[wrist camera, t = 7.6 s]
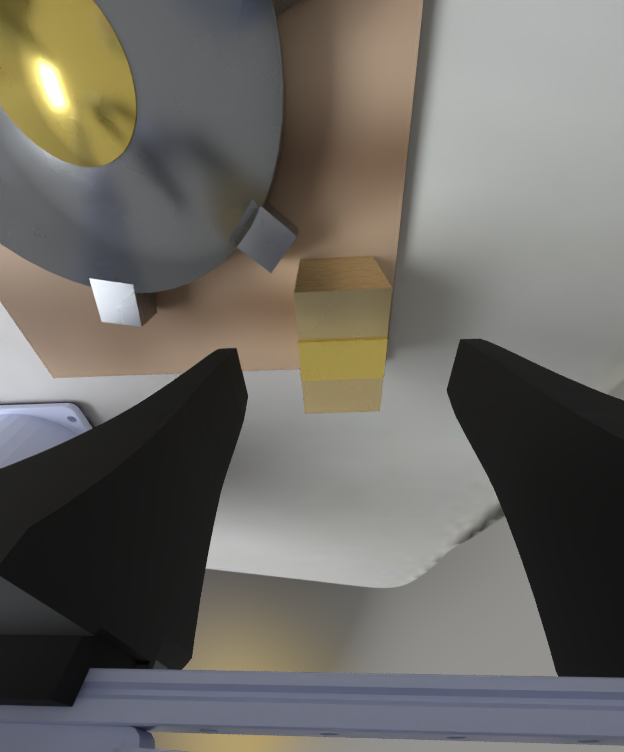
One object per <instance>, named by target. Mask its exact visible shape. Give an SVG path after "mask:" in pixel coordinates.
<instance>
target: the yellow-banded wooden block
mask: <svg viewBox="0 0 624 752" xmlns="http://www.w3.org/2000/svg"><path fill="white" fill-rule="evenodd" d="M391 295H392V287H391V285H390V284H389V282H388V280H387V279H386V277H385V275H384V274H383V272H382V270H381V269H380V267H379V265H378V264H377V262H376V261H375V259H374V257H373V256H355V257H337V258H318V259H300V263H299V268H298V273H297V278H296V284H295V289H294V301H295V312H296V323H297V333H298V347H299V358H300V368H301V379H302V387H303V397H304V408H305V413H334V412H367V411H380V403H381V393H382V383H383V378H384V370H385V360H386V351H387V341H388V339H387V334H388V324H389V315H390V305H391Z"/></svg>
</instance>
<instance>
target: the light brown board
mask: <svg viewBox="0 0 624 752" xmlns="http://www.w3.org/2000/svg"><path fill="white" fill-rule="evenodd" d="M422 10H423V0H302V1H300V2H299V3H297V4H295V5H294V6H292V7H291V8H289V9H288V10H286V11H284V12H283V13H281V14H280V15H278V16H277V18H278V24H279V30H280V36H281V42H282V48H283V54H284V67H285V80H286V125H285V134H284V142H283V150H282V156H281V160H280V164H279V169H278V173H277V177H276V181H275V184H274V186H273V189H272V192H271V195H270V197H269V200H268V203H270V204H271V205H272V206H273V207H274V208H275V209H277V210H278V211H279V212H280V213H281V214H282V215H284V216H285V217H286V218H287V219H288V220H289V221H291V222H292V223H293V224H294V225H295V226H296V227H298V228H299V232H298V235H297V237H296V239H295V240H294V242H293V243H292V244H291V246H290V247H289V249H288V250H287V252H286V253H285V254H284V256H283V257H282V259H281V260H280V262H279V263H278V264H277V266H276V267H275V269H274V270H273V272H272V273H270V272H269V271H268V270H266V269H265V268H264V267H262V266H261V265H260V264H258V263H257V262H256V261H254V260H253V259H252V258H250V257H249V256H248V255H246V254H245V253H244V252H243V251H241V250H240V249H239V248H236V249H235V250H234V251H233V252H232V253H231V254H230V255H229V256H228V257H227V258H226V259H225V260H224V261H223V262H222V263H221V264H219V265H218V266H217V267H216V268H214V269H213V270H212V271H210V272H209V273H208V274H206V275H204V276H202V277H200V278H198V279H197V280H195V281H193V282H191V283H188V284H185V285H182V286H180V287H177V288H174V289H169V290H164V291H159V292H154V294H155V300H156V306H157V312H158V313H157V314H155V315H154V316H153V317H152V318H151V319H150V320H149V321H148V322H147V323H146V324H145V325H143V326H142V327H137V326H130V325H122V324H115V323H107V322H102V321H101V317H100V314H99V311H98V307H97V304H96V300H95V297H94V293H93V290H92V287H89V286H86V285H83V284H80V283H77V282H73V281H70V280H68V279H65V278H63V277H61V276H58V275H56V274H53V273H51V272H49V271H46V270H44V269H43V268H41V267H39V266H37V265H35V264H33V263H31V262H29V261H27V260H25V259H24V258H22V257H20V256H19V255H17V254H16V253H14V252H12V251H11V250H9V249H8V248H6V247H5V246H3V245H1V244H0V302H1V303H2V304H3V306H4V307H5V309H6V310H7V312H8V313H9V315H10V316H11V317H12V319H13V320H14V322H15V323H16V325H17V326H18V328H19V329H20V330H21V332H22V333H23V335H24V336H25V338H26V339H27V341H28V342H29V343H30V345H31V346H32V348H33V349H34V351H35V352H36V354H37V355H38V356H39V358H40V359H41V361H42V362H43V364H44V365H45V367H46V368H47V369H48V371H49V372H50V374H51V375H52V377H53V378H65V377H92V376H119V375H146V374H174V373H185V372H186V371H187V370H189V369H190V368H191V367H193V366H194V365H195V364H197V363H198V362H200V361H201V360H202V359H204V358H205V357H206V356H208V355H209V354H211V353H212V352H214V351H215V350H217V349H223V348H237V352H238V356H239V360H240V364H241V369H242V371H255V370H282V369H301V368H300V358H299V347H298V333H297V323H296V312H295V301H294V289H295V284H296V278H297V273H298V268H299V263H300V259H318V258H337V257H355V256H373V257H374V259H375V261H376V262H377V264H378V265H379V267H380V269H381V270H382V272H383V274H384V275H385V277H386V279H387V280H388V282H389V284H390V285H391V287H392V295H391V305H390V315H389V324H388V334H387V339H388V335H389V325H390V316H391V306H392V297H393V287H394V278H395V268H396V258H397V249H398V239H399V230H400V220H401V211H402V201H403V191H404V182H405V172H406V163H407V153H408V144H409V134H410V124H411V115H412V105H413V96H414V86H415V77H416V67H417V57H418V48H419V38H420V29H421V19H422ZM387 345H388V341H387ZM386 354H387V351H386ZM385 364H386V360H385Z"/></svg>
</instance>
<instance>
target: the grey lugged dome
mask: <svg viewBox="0 0 624 752" xmlns="http://www.w3.org/2000/svg"><path fill="white" fill-rule="evenodd" d="M300 1H302V0H0V244H1V245H3V246H5V247H6V248H8V249H9V250H11V251H12V252H14V253H16V254H17V255H19V256H20V257H22V258H24V259H25V260H27V261H29V262H31V263H33V264H35V265H37V266H39V267H41V268H43V269H44V270H46V271H49V272H51V273H53V274H56V275H58V276H61V277H63V278H65V279H68V280H70V281H73V282H77V283H80V284H83V285H86V286H89V287H92V290H93V293H94V297H95V300H96V304H97V307H98V311H99V314H100V317H101V321H102V322H107V323H115V324H122V325H130V326H137V327H142V326H143V325H145V324H146V323H147V322H148V321H149V320H150V319H151V318H152V317H153V316H154V315H155V314H157V313H158V312H157V306H156V300H155V294H154V292H159V291H164V290H169V289H174V288H177V287H180V286H182V285H185V284H188V283H191V282H193V281H195V280H197V279H198V278H200V277H202V276H204V275H206V274H208V273H209V272H210V271H212V270H213V269H214V268H216V267H217V266H218V265H219V264H221V263H222V262H223V261H224V260H225V259H226V258H227V257H228V256H229V255H230V254H231V253H232V252H233V251H234V250H235V249H236V248H239V249H240V250H241V251H243V252H244V253H245V254H246V255H248V256H249V257H250V258H252V259H253V260H254V261H256V262H257V263H258V264H260V265H261V266H262V267H264V268H265V269H266V270H268V271H269V272H270V273H272V272H273V270H274V269H275V267H276V266H277V264H278V263H279V262H280V260H281V259H282V257H283V256H284V254H285V253H286V252H287V250H288V249H289V247H290V246H291V244H292V243H293V242H294V240H295V239H296V237H297V235H298V232H299V228H298V227H296V226H295V225H294V224H293V223H292V222H291V221H289V220H288V219H287V218H286V217H285V216H284V215H282V214H281V213H280V212H279V211H278V210H277V209H275V208H274V207H273V206H272V205H271V204H270V203H268V200H269V197H270V195H271V192H272V189H273V186H274V184H275V181H276V177H277V173H278V169H279V164H280V160H281V156H282V150H283V142H284V134H285V125H286V80H285V67H284V54H283V48H282V42H281V36H280V30H279V24H278V18H277V16H278V15H280V14H281V13H283V12H284V11H286V10H288V9H289V8H291V7H292V6H294V5H295V4H297V3H299V2H300Z"/></svg>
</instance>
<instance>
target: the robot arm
mask: <svg viewBox="0 0 624 752" xmlns="http://www.w3.org/2000/svg"><path fill="white" fill-rule="evenodd" d="M447 393H448V396H449V399H450V402H451V405H452V408H453V410H454V413H455V416H456V418H457V420H458V422H459V423H460V425H461V427H462V429H463V431H464V433H465V435H466V437H467V439H468V440H469V442H470V444H471V446H472V448H473V450H474V451H475V453H476V455H477V457H478V459H479V461H480V462H481V464H482V466H483V468H484V470H485V472H486V474H487V475H488V477H489V479H490V482H491V484H492V486H493V488H494V490H495V492H496V495H497V497H498V500H499V502H500V504H501V507H502V509H503V512H504V514H505V517H506V519H507V522H508V524H509V527H510V530H511V532H512V535H513V538H514V540H515V543H516V546H517V548H518V551H519V554H520V556H521V559H522V562H523V565H524V568H525V571H526V574H527V577H528V580H529V583H530V586H531V589H532V592H533V595H534V598H535V601H536V604H537V608H538V611H539V614H540V618H541V621H542V624H543V627H544V631H545V634H546V637H547V641H548V644H549V647H550V651H551V655H552V658H553V662H554V666H555V669H556V672H557V674H558V677H550V676H548V677H547V676H546V677H545V676H494V675H492V676H491V675H437V674H383V673H381V674H380V673H327V672H324V673H323V672H270V671H216V670H182V669H183V668H184V667H185V666H186V664H187V663H188V662H189V661H190V659H191V658H192V653H193V646H194V638H195V631H196V624H197V618H198V611H199V604H200V597H201V592H202V586H203V580H204V574H205V568H206V562H207V557H208V551H209V546H210V541H211V536H212V531H213V526H214V521H215V516H216V512H217V507H218V503H219V498H220V494H221V490H222V486H223V483H224V479H225V476H226V473H227V470H228V467H229V464H230V461H231V458H232V455H233V452H234V449H235V446H236V443H237V440H238V437H239V434H240V431H241V428H242V425H243V421H244V416H245V411H246V405H247V399H248V394H247V390H246V386H245V381H244V377H243V373H242V369H241V364H240V360H239V356H238V352H237V348H223V349H217V350H215V351H214V352H212V353H211V354H209V355H208V356H206V357H205V358H204V359H202V360H201V361H200V362H198V363H197V364H195V365H194V366H193V367H191V368H190V369H189V370H187V371H186V372H185V373H183V374H182V375H180V376H179V377H178V378H176V379H175V380H174V381H172V382H171V383H169V384H168V385H166V386H165V387H163V388H162V389H160V390H159V391H157V392H156V393H154V394H153V395H151V396H150V397H148V398H147V399H145V400H143V401H142V402H140V403H139V404H137V405H135V406H134V407H132V408H130V409H128V410H127V411H125V412H123V413H121V414H119V415H118V416H116V417H114V418H112V419H110V420H109V421H107V422H105V423H103V424H101V425H99V426H97V427H95V428H92V426H91V425H90V424H89V422H88V421H87V419H86V418H85V416H84V415H83V413H82V412H81V410H80V409H79V408H78V407H77V406H76V405H74V404H71V403H54V404H23V405H0V752H187V751H174V750H160V749H155V741H154V738H153V736H152V734H151V733H149V732H175V733H208V734H243V735H246V734H247V735H277V736H279V735H280V736H312V737H313V736H314V737H315V736H316V737H346V738H347V737H348V738H382V739H415V740H451V741H484V742H522V743H554V744H555V743H556V744H588V745H622V746H624V401H623V400H621V399H618V398H615V397H612V396H610V395H607V394H605V393H602V392H599V391H597V390H594V389H592V388H590V387H587V386H585V385H582V384H580V383H578V382H575V381H573V380H571V379H568V378H566V377H564V376H562V375H559V374H557V373H555V372H553V371H551V370H548V369H546V368H544V367H542V366H540V365H538V364H536V363H533V362H531V361H529V360H527V359H525V358H523V357H521V356H519V355H517V354H515V353H513V352H510V351H508V350H506V349H504V348H502V347H500V346H497V345H495V344H493V343H491V342H488V341H485V340H482V339H460V342H459V346H458V349H457V353H456V357H455V361H454V365H453V368H452V372H451V376H450V380H449V383H448V387H447Z"/></svg>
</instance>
